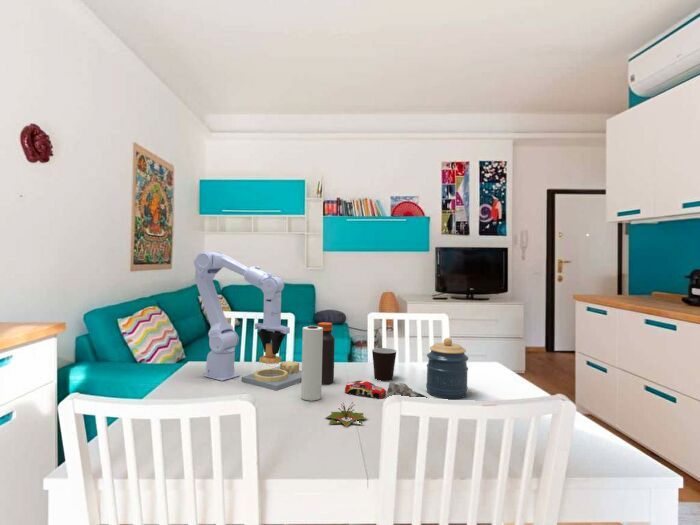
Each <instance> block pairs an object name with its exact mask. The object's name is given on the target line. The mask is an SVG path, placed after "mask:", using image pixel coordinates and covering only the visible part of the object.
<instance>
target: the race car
mask: <svg viewBox="0 0 700 525" xmlns="http://www.w3.org/2000/svg"><path fill="white" fill-rule="evenodd" d="M344 392H345V393H346V394H349V395H350V396H351V395H352V396H361V397H368V398H374V399H379V398H386V394H387V390H386V389H385V388H384V387H382V386H378V385H375V383H372V382H370V381H367V380H355V381H349V382H347V383H346V385H345V387H344Z"/></svg>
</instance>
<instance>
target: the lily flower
mask: <svg viewBox="0 0 700 525" xmlns="http://www.w3.org/2000/svg"><path fill="white" fill-rule="evenodd" d="M353 403H354V401H353V402H351V404H350V405H349V406H348V408H347V409H346V405H345V403H344V402H342V403H340V405H341V406H340V407H341V408H337V409H338V410H339V411H330V413H331V414H329V415H327V416H326V417H324V419H330V421H329V423H328V425H332V424H333V425H334V424H343V425H344V426H345V428H348V426H349V425H359V424H357V423H356V422H354V421H355V420H357V421H359V423H361V424H363V421H362V420H367V419H368V418H367V417H365V416H364V415H363V414H364V412H354V411H355V409H353V407H355V404H353ZM351 405H352V406H351ZM341 409H342V410H341ZM351 418H352V419H351ZM349 419H350V421H349ZM337 421H338V422H337ZM355 423H356V424H355ZM359 426H360V425H359Z"/></svg>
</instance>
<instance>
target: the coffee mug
mask: <svg viewBox="0 0 700 525" xmlns="http://www.w3.org/2000/svg"><path fill="white" fill-rule="evenodd" d="M371 351H372V364H373V374H374V380H376V379H377V380H376V381H378V380H381V381H380V382H391V381H392V380H393V378H394V372H395V366H396V365H395V364H396V357H397V349H395V348H394V349H393V348H387V347H377V348H376V347H375V348H372V350H371ZM390 380H391V381H390Z"/></svg>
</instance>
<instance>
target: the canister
mask: <svg viewBox="0 0 700 525" xmlns="http://www.w3.org/2000/svg"><path fill="white" fill-rule="evenodd" d="M429 349H430V352H428V353H426V357H427V358H428V362H427V364H426V384H425V385H426V386H425V388H426V392H427V394H429V393H430V394H429V395H431V394H432V395H431V396H433V395H435V396H434V397H436V396H437V398H440V397H441V398H442V399H449V400H450V399H453V400H455V399H456V398H457V399H463V398H465V397H466V396H467V393H468V387H469V386H468V372H469V368H468V364H467V363H468V362H467V361H468V360H469V356H468V355H466V352H467V350H466V349H465V347H463V346H462V345H461V344H458V343H454V342H453V341H452V339H451V338H449V337H445V338H444V339H443V342H436V343H434V345H431V346H430V347H429Z"/></svg>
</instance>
